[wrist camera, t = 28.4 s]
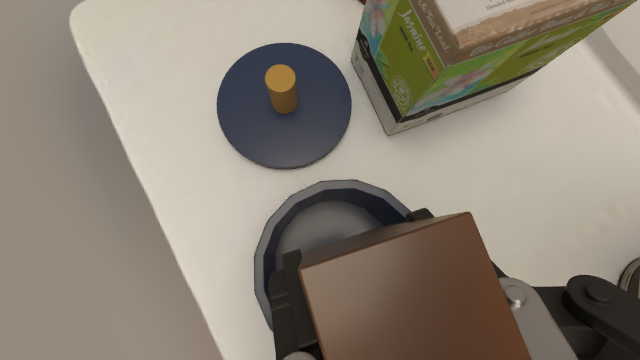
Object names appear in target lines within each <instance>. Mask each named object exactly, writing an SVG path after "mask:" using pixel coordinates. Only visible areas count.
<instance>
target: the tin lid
mask: <svg viewBox="0 0 640 360" xmlns="http://www.w3.org/2000/svg"><path fill="white" fill-rule="evenodd" d="M217 114H218V119H219V123H220V126H221V128H222V131H223V132H224V134H225V136H226V138H227V139H228V141H229V142H230V143H231V145H232V146H233V147H234V148H235V149H236V150H237V151H238V152H239V153H241V154H242V155H243V156H245V157H246V158H248V159H249V160H251V161H253V162H255V163H258V164H260V165H263V166H267V167H271V168H278V169H289V168H297V167H301V166H305V165H308V164H311V163H313V162H315V161H317V160H319V159H321V158H322V157H324V156H325V155H326V154H328V153H329V152H330V151H331V150H332V149H333V148H334V147H335V146H336V145H337V144H338V142H339V141H340V140H341V138H342V136H343V135H344V133H345V131H346V128H347V126H348V123H349V119H350V114H351V96H350V91H349V87H348V84H347V82H346V80H345V78H344V76H343V74H342V73H341V71H340V70H339V68H338V67H337V66H336V65H335V64H334V63H333V62H332V61H331V60H330V59H329V58H328V57H326V56H325V55H323V54H322V53H320V52H318V51H317V50H315V49H312V48H310V47H307V46H303V45H300V44H293V43H275V44H270V45H265V46H262V47H259V48H257V49H254V50H252V51H250V52H249V53H247V54H245V55H244V56H242V57H241V58H240V59H239V60H237V61H236V62H235V63H234V65H233V66H232V67H231V68H230V69H229V71H228V72H227V73H226V75H225V77H224V79H223V80H222V83H221V85H220V88H219V92H218V97H217Z"/></svg>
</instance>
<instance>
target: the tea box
mask: <svg viewBox="0 0 640 360" xmlns="http://www.w3.org/2000/svg"><path fill="white" fill-rule="evenodd" d="M635 1H637V0H367V1H366V4H365V8H364V11H363V15H362V19H361V22H360V26H359V30H358V34H357V38H356V41H355V44H354V48H353V52H352V56H351V60H352V62H353V64H354V66H355V68H356V70H357V72H358V74H359V76H360V78H361V80H362V82H363V84H364V86H365V89H366V91H367V93H368V95H369V97H370V99H371V101H372V103H373V105H374V108H375V110H376V112H377V114H378V116H379V118H380V121H381V123H382V125H383V127H384V129H385V131H386V133H387V135H392V134H394V133H397V132H400V131H403V130H406V129H409V128H412V127H414V126H417V125H419V124H422V123H425V122H427V121H430V120H433V119H436V118H438V117H441V116H443V115H446V114H448V113H451V112H454V111H456V110H459V109H462V108H465V107H467V106H470V105H472V104H475V103H477V102H480V101H483V100H486V99H488V98H491V97H493V96H496V95H498V94H501V93H503V92H506V91H509V90H511V89H512V88H514V87H515V86H517V85H518V84H520V83H521V82H522V81H524V80H525V79H527V78H528V77H529V76H531V75H532V74H534V73H535V72H537V71H538V70H539V69H541V68H542V67H544V66H545V65H547V64H548V63H549V62H551V61H552V60H553V59H555V58H556V57H558V56H559V55H561V54H562V53H563V52H565V51H566V50H567V49H569V48H570V47H572V46H573V45H575V44H576V43H578V42H579V41H581V40H582V39H584V38H585V37H586V36H588V35H589V34H590V33H592V32H593V31H594V30H596V29H597V28H599V27H600V26H601V25H603V24H604V23H606V22H607V21H608V20H610V19H611V18H613V17H614V16H616V15H617V14H619V13H620V12H621V11H623V10H624V9H626V8H627V7H629V6H630V5H631V4H633V3H634V2H635Z"/></svg>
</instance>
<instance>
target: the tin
mask: <svg viewBox="0 0 640 360" xmlns="http://www.w3.org/2000/svg"><path fill="white" fill-rule="evenodd" d="M410 212H411V211H410V210H409V209H408V208H407V207H405V206H404V205H403V204H402V203H401V202H400V201H398V200H397V199H396V198H395V197H394V196H393V195H392V194H390V193H389V192H388V191H386V190H384V189H381V188H378V187H375V186H372V185H370V184H367V183H364V182H361V181H358V180H333V181H321V182H318V183H316V184H314V185H312V186H310V187H308V188H306V189H303V190H301V191H299V192H297V193H295V194H293V195H291V196H290V197H289V198H288V199H287V200H286V201H285V202H284V203H283V204H282V206H281V207H280V208H279V209H278V210H277V211H276V212H275V213H274V214H273V215H272V216H271V217H270V218H269V220H268V222H267V223H266V225H265V228H264V230H263V233H262V236H261V238H260V241H259V243H258V246H257V249H256V251H255V255H254V291H255V295H256V297H257V300H258V302H259V305H260V307H261V309H262V312H263V314H264V317H265V319H266V321H267V324H268V326H269V328H270V329H271V330H272V331H273V325H272V317H271V309H270V299H269V292H268V283H269V280H270V277H271V273H272V272H275V271H278V270H281V269H284V267H283V262H282V256H281V255H282V254H284V253H287V252H290V251H293V250H296V249H300V251H301V254H302V256H303V253H304V252H305V251H309V250H312V249H315V248H318V247H321V246H324V245H327V244H330V243H333V242H336V241H339V240H342V239H345V238H348V237H351V236H354V235H357V234H360V233H363V232H366V231H369V230H372V229H375V228H378V227H383V226H389V225H394V224H400V223H406V214H407V213H410Z"/></svg>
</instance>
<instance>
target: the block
mask: <svg viewBox="0 0 640 360" xmlns="http://www.w3.org/2000/svg"><path fill="white" fill-rule="evenodd" d="M298 273H299V276H300V280H301V283H302V286H303V290H304V293H305V297H306V300H307V303H308V307H309V310H310V314H311V317H312V321H313V324H314V327H315V331H316V334H317V338H318V341H319V344H320V348H321V351H322V355H323V358H324V360H532V359H531V356H530V354H529V352H528V349H527V347H526V344H525V342H524V339H523V337H522V335H521V332H520V330H519V327H518V325H517V323H516V320H515V318H514V315H513V313H512V311H511V308H510V306H509V303H508V301H507V298H506V296H505V294H504V291H503V289H502V286H501V284H500V282H499V279H498V277H497V274H496V272H495V270H494V267H493V265H492V262H491V260H490V257H489V255H488V253H487V250H486V248H485V245H484V243H483V241H482V238H481V236H480V233H479V231H478V229H477V226H476V224H475V221H474V219H473V216H472V214H471V213H470V212H463V213H457V214H451V215H446V216H440V217H434V218H429V219H423V220H417V221H411V222H406V223H400V224H394V225H389V226H383V227H378V228H375V229H372V230H369V231H366V232H363V233H360V234H357V235H354V236H351V237H348V238H345V239H342V240H339V241H336V242H333V243H330V244H327V245H324V246H321V247H318V248H315V249H312V250H309V251H305V252H304V253H303V256H302V259H301V263H300V266H299V269H298Z"/></svg>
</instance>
